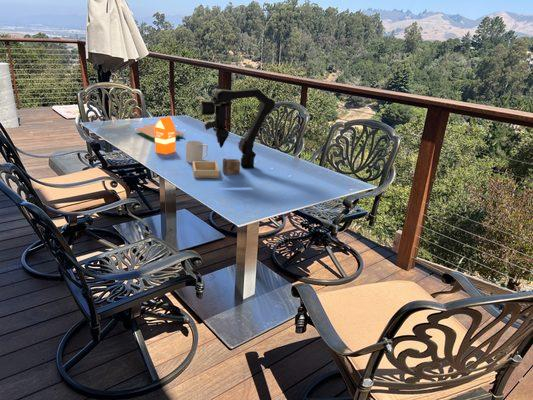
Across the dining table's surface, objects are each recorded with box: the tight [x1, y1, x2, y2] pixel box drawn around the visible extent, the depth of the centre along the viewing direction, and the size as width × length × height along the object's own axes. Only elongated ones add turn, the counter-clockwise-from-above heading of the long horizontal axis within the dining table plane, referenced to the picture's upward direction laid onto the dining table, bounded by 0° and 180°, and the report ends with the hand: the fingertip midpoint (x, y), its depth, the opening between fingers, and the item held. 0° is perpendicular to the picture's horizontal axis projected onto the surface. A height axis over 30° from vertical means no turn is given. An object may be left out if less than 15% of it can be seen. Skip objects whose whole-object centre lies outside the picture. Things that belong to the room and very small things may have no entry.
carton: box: [192, 160, 221, 179], centre depth 195 cm, size 12×19×5 cm, turn 13°
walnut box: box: [222, 158, 241, 175], centre depth 197 cm, size 8×5×7 cm, turn 103°
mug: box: [185, 140, 209, 164], centre depth 211 cm, size 12×9×11 cm
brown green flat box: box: [135, 122, 185, 141], centre depth 258 cm, size 23×33×8 cm
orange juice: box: [154, 116, 176, 155], centre depth 223 cm, size 8×9×20 cm
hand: (219, 145), depth 203 cm, fingers open, 9 cm apart
